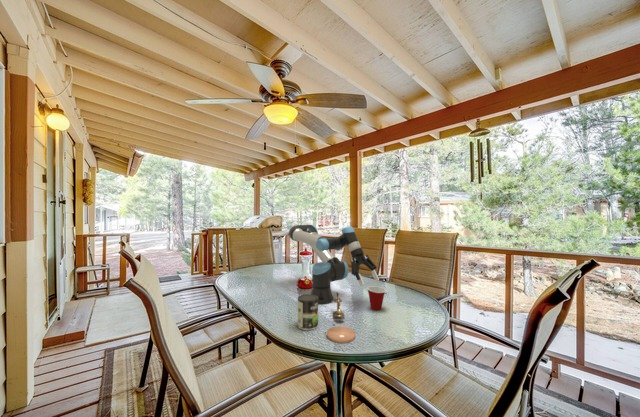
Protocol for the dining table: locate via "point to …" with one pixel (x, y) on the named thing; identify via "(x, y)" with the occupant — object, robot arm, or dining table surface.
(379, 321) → the dining table surface
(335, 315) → the balance
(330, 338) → the dish
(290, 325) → the dining table surface
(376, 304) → the plastic cup
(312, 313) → the coffee can
